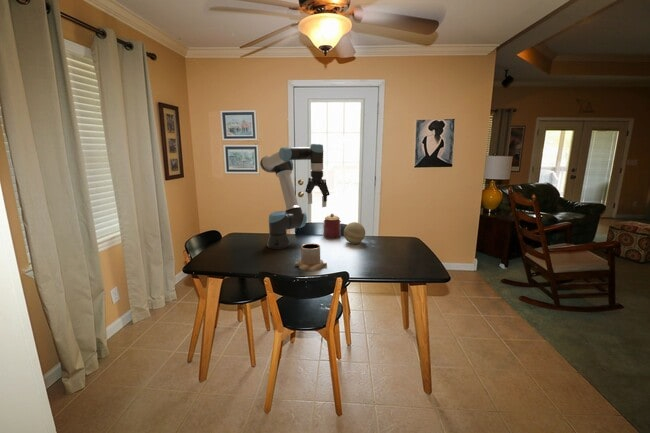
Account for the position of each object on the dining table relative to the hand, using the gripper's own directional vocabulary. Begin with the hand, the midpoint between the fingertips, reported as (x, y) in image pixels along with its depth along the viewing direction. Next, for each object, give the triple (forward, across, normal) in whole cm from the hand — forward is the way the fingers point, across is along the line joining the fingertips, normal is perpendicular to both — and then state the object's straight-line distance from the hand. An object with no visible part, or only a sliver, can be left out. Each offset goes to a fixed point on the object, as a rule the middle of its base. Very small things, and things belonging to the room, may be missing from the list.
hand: (317, 205), depth 188 cm
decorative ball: (+32, 0, +34) cm, 46 cm away
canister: (+32, -23, +33) cm, 51 cm away
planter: (+29, +14, -16) cm, 36 cm away
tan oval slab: (+31, +14, -16) cm, 38 cm away
